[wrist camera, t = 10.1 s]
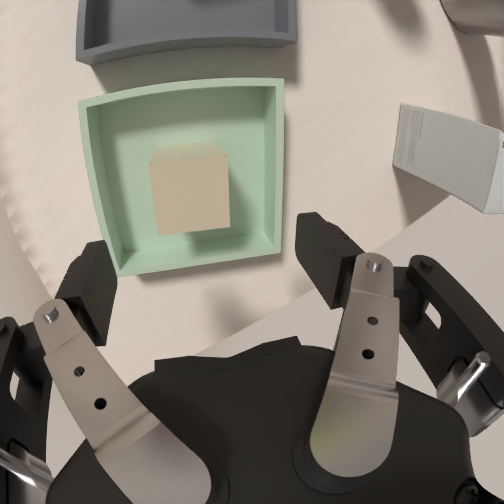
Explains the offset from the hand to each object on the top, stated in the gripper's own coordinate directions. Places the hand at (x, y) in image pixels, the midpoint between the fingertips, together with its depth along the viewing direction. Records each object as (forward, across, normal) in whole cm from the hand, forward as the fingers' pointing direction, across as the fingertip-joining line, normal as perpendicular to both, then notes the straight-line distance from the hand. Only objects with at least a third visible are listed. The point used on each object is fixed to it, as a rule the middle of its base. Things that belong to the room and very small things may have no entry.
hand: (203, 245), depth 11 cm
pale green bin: (+13, 0, 0) cm, 13 cm away
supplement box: (+13, -25, -3) cm, 28 cm away
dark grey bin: (+13, 0, -17) cm, 22 cm away
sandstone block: (+12, 0, 0) cm, 12 cm away
